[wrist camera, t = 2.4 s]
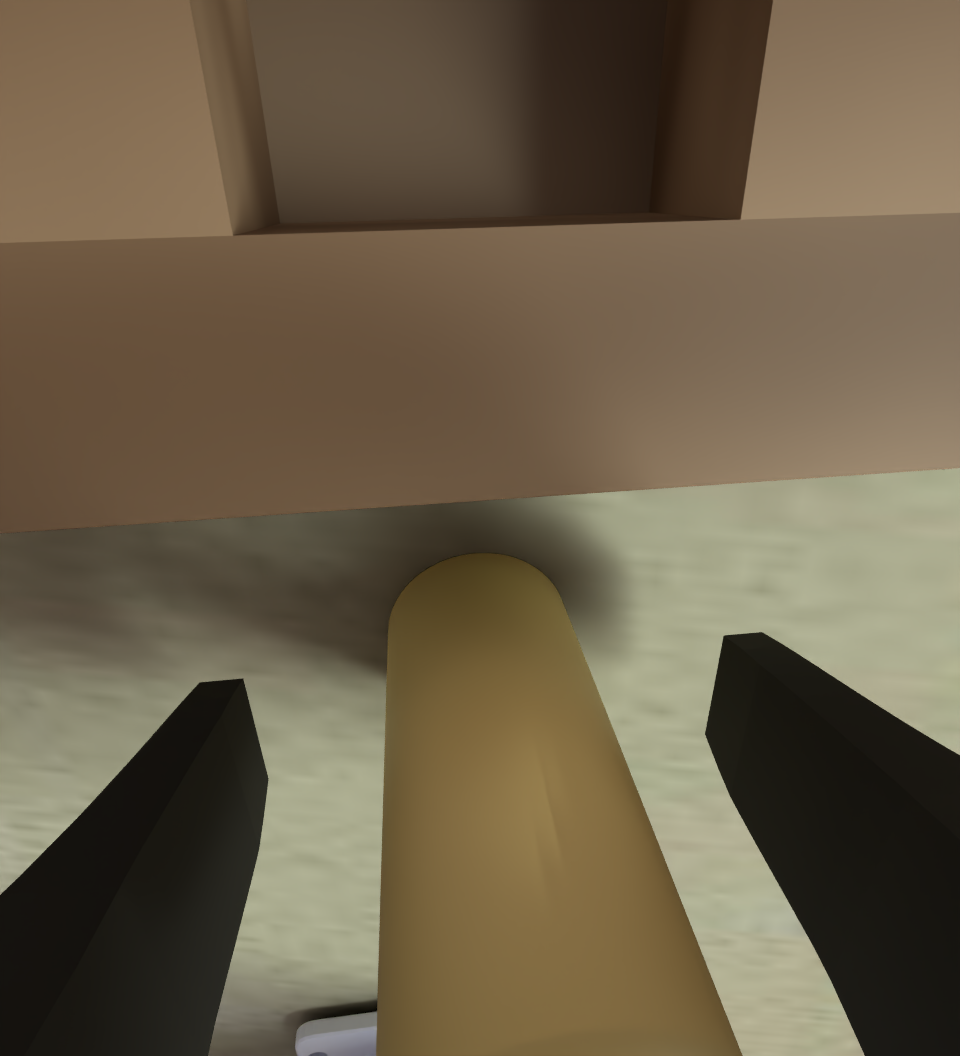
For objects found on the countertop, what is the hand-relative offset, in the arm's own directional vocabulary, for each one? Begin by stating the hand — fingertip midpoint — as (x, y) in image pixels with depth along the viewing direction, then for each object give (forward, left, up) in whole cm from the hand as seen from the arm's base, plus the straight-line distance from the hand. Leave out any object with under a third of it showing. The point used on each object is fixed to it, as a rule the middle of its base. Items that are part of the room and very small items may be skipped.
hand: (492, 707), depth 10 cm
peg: (0, 0, -2) cm, 2 cm away
